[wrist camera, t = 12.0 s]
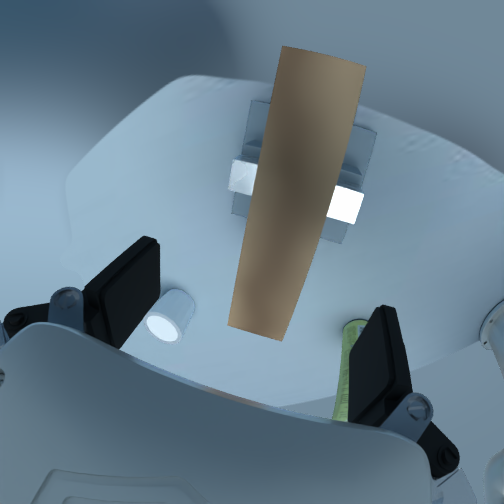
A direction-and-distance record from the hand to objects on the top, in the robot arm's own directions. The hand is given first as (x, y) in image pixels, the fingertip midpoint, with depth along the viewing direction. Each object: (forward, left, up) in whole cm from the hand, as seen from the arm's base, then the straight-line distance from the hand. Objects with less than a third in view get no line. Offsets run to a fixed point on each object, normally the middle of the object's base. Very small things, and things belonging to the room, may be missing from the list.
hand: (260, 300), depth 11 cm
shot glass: (+14, +26, -24) cm, 38 cm away
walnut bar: (0, 0, -15) cm, 15 cm away
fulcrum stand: (0, 0, -24) cm, 24 cm away
